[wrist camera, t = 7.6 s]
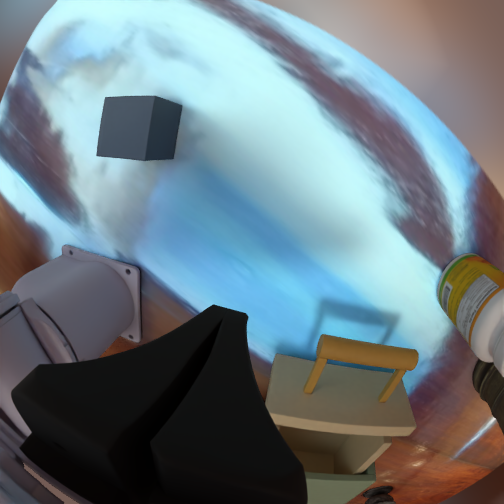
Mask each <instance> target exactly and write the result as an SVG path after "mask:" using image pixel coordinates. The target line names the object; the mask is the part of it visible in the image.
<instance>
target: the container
mask: <svg viewBox="0 0 504 504" xmlns="http://www.w3.org/2000/svg"><path fill="white" fill-rule="evenodd" d="M473 384H474V388H475V390H476V391H477V392H478V393H480V397H481V399H482V400H484V401H486V402H487V403H488V405H489V407H490V409H491V412H492V415H493V416H494V418H496V419H497V421H498V423H499V426H500V428H501V430H502V432H503V434H504V377H503V376H502V375H501V374H500V372H499V371H498V369H497V368H496V367H495V365H494V362H484V361H482V360H479V361H478V363H477V365H476V368H475V370H474V374H473Z"/></svg>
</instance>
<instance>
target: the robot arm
mask: <svg viewBox="0 0 504 504" xmlns="http://www.w3.org/2000/svg"><path fill="white" fill-rule="evenodd" d="M128 269H129V270H130V272H131V273H130V272H129V271H128ZM247 321H248V315H247V314H246V313H243V312H239V311H235V310H232V309H228V308H224V307H221V306H217V305H214V304H213V305H212V306H210V307H208V308H207V309H205V310H204V311H203V312H201V313H200V314H198V315H197V316H195V317H194V318H192V319H191V320H189V321H188V322H186V323H184V324H183V325H181V326H180V327H178V328H176V329H175V330H173V331H171V332H169V333H167V334H165V335H163V336H161V337H160V338H158V339H156V340H153V341H151V342H149V343H147V344H144V345H142V346H139V347H137V348H134V349H131V350H128V351H124V352H121V353H118V354H114V355H110V356H107V357H103V358H99V357H100V356H101V355H102V354H103V353H104V352H105V350H106V349H107V348H108V347H109V346H110V345H111V344H112V343H113V342H114V341H115V340H116V339H117V338H118V337H119V336H122V337H124V338H127V339H129V340H132V341H134V342H140V341H141V316H140V271H139V269H138V268H137V267H135V266H132V265H129V264H125V263H122V262H119V261H116V260H112V259H109V258H106V257H103V256H100V255H97V254H94V253H91V252H88V251H84V250H81V249H78V248H75V247H72V246H70V245H67V244H65V245H63V246H62V255H61V256H59V257H57V258H55V259H53V260H51V261H49V262H47V263H46V264H44V265H42V266H40V267H38V268H36V269H34V270H33V271H31V272H29V273H27V274H25V275H24V276H22V277H21V278H20V279H19V280H18V281H17V282H16V284H15V285H14V287H13V289H12V291H11V292H10V291H6V292H5V293H3V294H1V295H0V504H64V502H63V501H61V500H60V499H59V498H58V497H56V496H55V495H54V494H53V493H51V492H50V491H49V490H48V489H47V488H45V487H44V486H43V485H42V484H41V483H40V482H39V481H38V480H37V479H36V478H34V477H33V476H32V475H31V474H30V473H29V472H28V471H26V470H25V469H24V464H23V463H25V464H26V465H27V466H28V467H29V468H31V469H32V470H33V471H34V472H35V473H37V474H38V475H39V476H40V477H42V478H43V479H44V480H46V481H47V482H49V483H50V484H51V485H52V486H54V487H55V488H57V489H58V490H60V491H61V492H63V493H64V494H65V495H67V496H68V497H70V498H71V499H73V500H74V501H76V502H78V503H79V504H307V503H308V491H307V482H306V476H305V471H304V467H303V465H302V463H301V462H300V461H299V459H298V458H297V457H296V456H295V454H294V453H293V452H292V450H291V449H290V447H289V446H288V444H287V443H286V441H285V440H284V438H283V437H282V435H281V433H280V432H279V430H278V429H277V427H276V425H275V423H274V421H273V419H272V417H271V415H270V413H269V411H268V409H267V407H266V405H265V403H264V401H263V398H262V396H261V394H260V391H259V388H258V385H257V383H256V379H255V376H254V373H253V369H252V365H251V361H250V356H249V350H248V343H247Z"/></svg>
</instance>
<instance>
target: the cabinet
mask: <svg viewBox="0 0 504 504" xmlns="http://www.w3.org/2000/svg"><path fill="white" fill-rule="evenodd" d="M375 474H376V473H375V463H374V462H373V463H372V464H371V465H370V466H369V467H368V468H367V469H366V470H364V471H363V472H362V473H361V474H360V475H347V474H326V473H314V472H305V476H306V482H307V491H308V503H307V504H345V503H347V502H348V501H350V500H351V499H353V498H354V497H355V496H357V495H358V494H360V493H361V492H362V491H364V490H365V489H366V488H368V487H369V486H370V485H371V484H373V483H374V482H375V481H376V475H375Z"/></svg>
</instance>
